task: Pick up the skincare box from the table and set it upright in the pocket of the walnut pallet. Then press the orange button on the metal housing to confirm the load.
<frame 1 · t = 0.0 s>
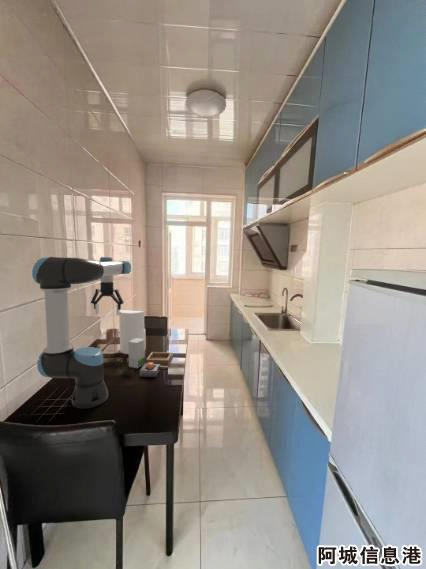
hand: (107, 314, 163), 28 cm above the table, tool pointing down, fingers open, 13 cm apart
cylinder: (133, 349, 180), on the table
pallet: (159, 361, 160), on the table
skincare box: (136, 365, 155), on the table
button housing: (150, 373, 144), on the table
button: (150, 366, 144), point 4 cm above the table, slide at 0.0 cm
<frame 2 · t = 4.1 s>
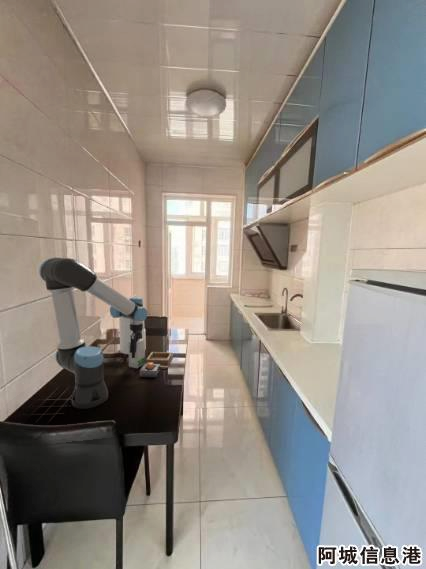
hand: (136, 359, 154), 4 cm above the table, tool pointing down, fingers closed on skincare box, 9 cm apart
skincare box: (136, 365, 155), on the table, touching gripper
everything else where it was.
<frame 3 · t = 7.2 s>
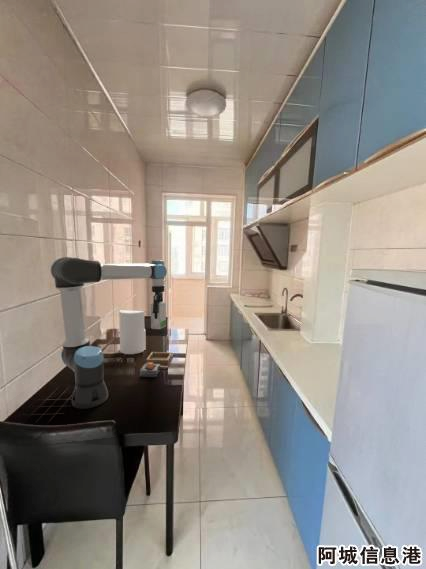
hand: (158, 321, 157), 26 cm above the table, tool pointing down, fingers closed on skincare box, 9 cm apart
skincare box: (158, 327, 158), point 22 cm above the table, touching gripper
everything else where it was.
when the fingers open (6 cm above the table, at t = 10.4 s): skincare box drops 1 cm, resting on pallet.
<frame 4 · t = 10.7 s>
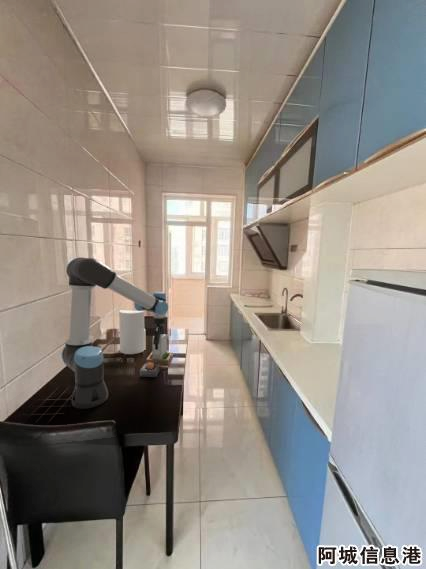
hand: (159, 350, 159), 7 cm above the table, tool pointing down, fingers open, 13 cm apart
skincare box: (159, 359, 160), point 1 cm above the table, touching pallet
everything else where it was.
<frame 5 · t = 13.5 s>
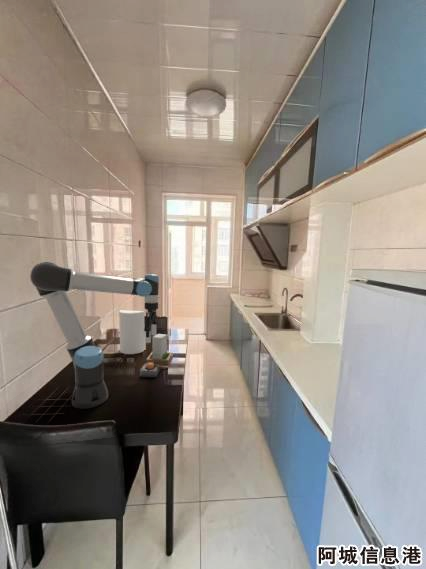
hand: (151, 338, 145), 19 cm above the table, tool pointing down, fingers open, 13 cm apart
nothing on the table moved.
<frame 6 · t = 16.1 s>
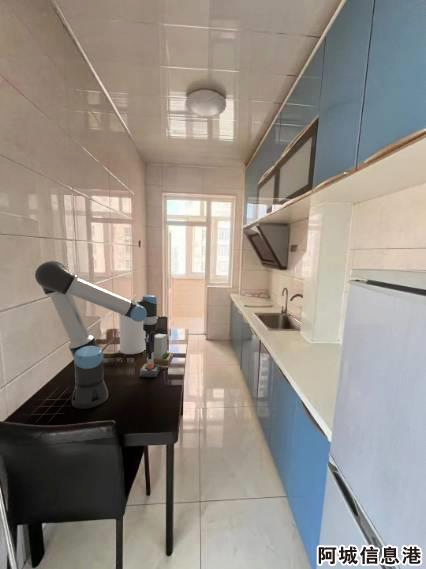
hand: (150, 363, 144), 6 cm above the table, tool pointing down, fingers closed
button: (150, 367, 144), point 3 cm above the table, slide at 0.3 cm, touching gripper
everything else where it was.
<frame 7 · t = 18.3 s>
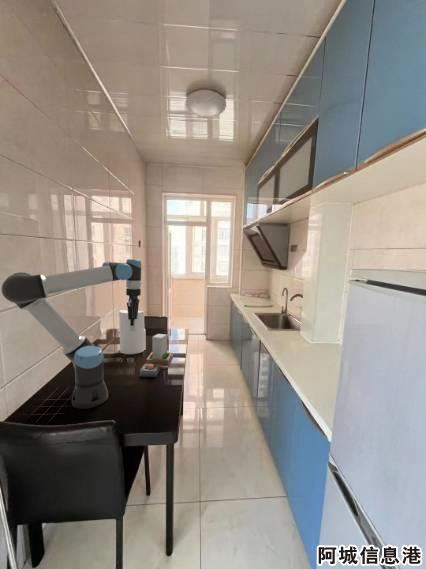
hand: (132, 330, 139), 25 cm above the table, tool pointing down, fingers closed
button: (150, 368, 144), point 3 cm above the table, slide at 0.8 cm
everything else where it was.
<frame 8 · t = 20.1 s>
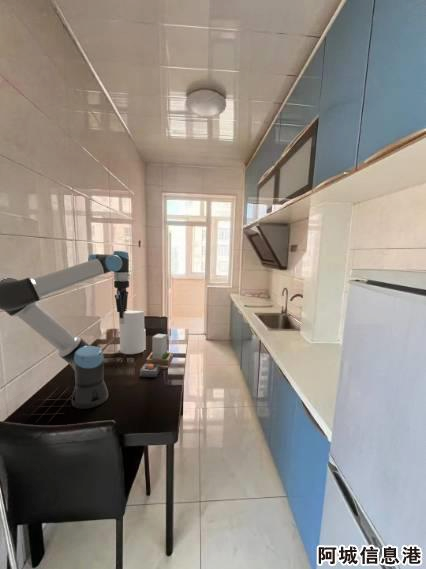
hand: (122, 323, 138), 29 cm above the table, tool pointing down, fingers closed
nothing on the table moved.
at the end: skincare box 0.3 cm off-centre on the pallet, point 1.0 cm above the pallet's base; skincare box tilted 0°; button slide at 0.8 cm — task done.
